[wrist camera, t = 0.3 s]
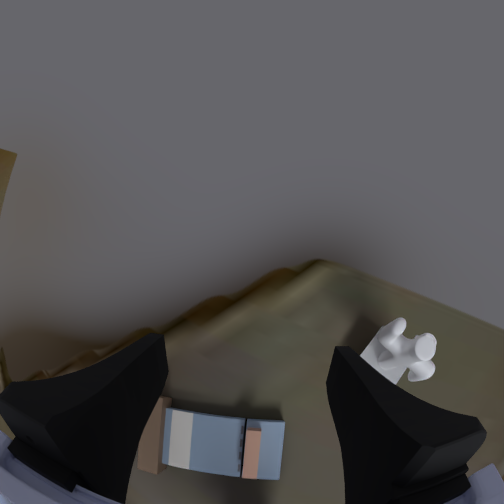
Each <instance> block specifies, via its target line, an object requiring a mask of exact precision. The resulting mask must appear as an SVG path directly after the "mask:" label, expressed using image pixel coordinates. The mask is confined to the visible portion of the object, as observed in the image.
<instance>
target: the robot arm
mask: <svg viewBox="0 0 504 504" xmlns="http://www.w3.org/2000/svg"><path fill="white" fill-rule="evenodd" d="M168 372H169V371H168V364H167V357H166V349H165V341H164V335H161V334H154V333H150V334H148V335H146V336H144V337H143V338H141V339H139V340H138V341H136V342H134V343H133V344H131V345H129V346H128V347H126V348H124V349H123V350H121V351H119V352H118V353H116V354H114V355H112V356H110V357H108V358H106V359H105V360H103V361H101V362H99V363H97V364H94V365H92V366H90V367H87V368H85V369H82V370H79V371H76V372H73V373H70V374H66V375H63V376H59V377H54V378H49V379H43V380H36V381H21V382H11V383H10V384H9V385H8V386H7V387H6V388H5V389H4V390H3V392H2V393H1V394H0V414H1V416H2V417H3V419H4V420H5V422H6V423H7V425H8V426H9V428H10V429H11V431H12V432H13V433H14V435H15V436H16V437H15V438H14V440H13V441H12V440H11V439H10V438H9V437H8V436H7V435H6V434H5V433H3V432H2V431H1V430H0V493H1V494H2V495H3V496H4V497H5V498H7V499H8V500H9V501H10V502H11V503H13V504H125V500H126V494H127V488H128V483H129V478H130V474H131V470H132V466H133V462H134V458H135V455H136V451H137V448H138V445H139V442H140V439H141V435H142V433H143V430H144V428H145V426H146V424H147V422H148V420H149V418H150V415H151V413H152V411H153V409H154V407H155V405H156V403H157V401H158V399H159V397H160V395H161V393H162V391H163V388H164V385H165V382H166V379H167V375H168ZM326 386H327V395H328V401H329V405H330V409H331V413H332V416H333V420H334V423H335V427H336V431H337V434H338V438H339V442H340V446H341V452H342V460H343V469H344V481H345V504H504V482H503V480H502V478H501V476H500V474H499V473H498V471H497V469H496V467H495V466H494V464H490V465H488V466H486V467H485V468H483V469H481V470H479V471H477V472H476V473H474V474H472V475H471V476H470V477H468V478H467V476H466V474H465V473H466V472H467V471H468V469H469V468H468V466H467V464H466V463H467V461H468V460H469V459H470V458H471V457H472V456H473V455H474V454H475V452H476V451H477V450H478V449H479V448H480V446H481V445H482V444H483V442H484V440H485V438H486V434H487V432H486V430H485V429H484V427H483V426H482V424H481V423H480V421H479V420H478V418H477V417H473V416H468V415H463V414H458V413H454V412H451V411H448V410H445V409H442V408H439V407H436V406H434V405H431V404H429V403H427V402H425V401H423V400H421V399H419V398H417V397H415V396H413V395H411V394H409V393H408V392H406V391H404V390H403V389H401V388H400V387H398V386H397V385H395V384H394V383H392V382H391V381H390V380H388V379H387V378H386V377H384V376H383V375H382V374H380V373H379V372H378V371H377V370H376V369H374V368H373V367H372V366H371V365H370V364H369V363H367V362H366V361H365V360H364V359H363V358H362V357H361V356H360V355H358V354H357V353H356V352H355V351H354V350H353V349H351V348H350V347H349V346H335V349H334V353H333V357H332V362H331V366H330V369H329V373H328V377H327V381H326Z"/></svg>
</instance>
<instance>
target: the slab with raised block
mask: <svg viewBox="0 0 504 504" xmlns="http://www.w3.org/2000/svg"><path fill="white" fill-rule="evenodd" d="M284 427H285V422H284V420H262V419H247V426H246V437H245V448H244V459H243V469H242V478H249V479H270V480H279V476H280V467H281V458H282V448H283V438H284Z"/></svg>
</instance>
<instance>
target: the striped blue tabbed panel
mask: <svg viewBox="0 0 504 504" xmlns="http://www.w3.org/2000/svg"><path fill="white" fill-rule="evenodd" d="M171 404H172V398H169V397H165V396H160V397H159V399H158V401H157V403H156V405H155V407H154V409H153V411H152V413H151V415H150V418H149V420H148V422H147V424H146V426H145V428H144V430H143V433H142V435H141V439H140V442H139V447H138V469H140V470H143V471H147V472H150V473H153V474H159V473H160V472H162V471H163V470H164V469H166V468H167V465H171V466H175V467H179V468H184V469H190V470H195V471H200V472H206V473H212V474H219V475H227V476H235V477H240V474H241V466H242V455H243V445H244V434H245V422H246V418H239V417H229V416H221V415H213V414H206V413H200V412H194V411H188V410H182V409H177V408H172V407H171Z"/></svg>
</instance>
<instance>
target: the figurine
mask: <svg viewBox="0 0 504 504" xmlns="http://www.w3.org/2000/svg"><path fill="white" fill-rule="evenodd" d="M405 327H406V321H405V319H404V318H397V319H395V320H394V321H392V322H390V323H389V324H387V325H386V326H384V327H383V326H382V327H381V328H380V330H379V331H378V332H377V334H376V335H375V336H374V338H373V339H372V340H371V342H370V343H369V344H368V346H367V347H366V348H365V350H364V351H363V352H362V354H361V355H360V356H361V357H362V358H363V359H364V360H365V361H366V362H367V363H369V364H370V365H371V366H372V367H373V368H374V369H376V370H377V371H378V372H379V373H380V374H382V375H383V376H384V377H386V378H387V379H388V380H390V381H391V382H392V383H394V384H396V383H397V382H398V380H399V379H400V377H401V376H402V374H403V373H404V372H405V370H406V369H407V367H408V368H409V369H410V372H409V374H408V380H409V381H411V382H413V381H421V380H425V379H428V378H429V377H431V376H432V375H433V373H434V371H435V365H434V363H433V362H432V361H431V360H430V359H431V358H432V357H433V356H434V354H435V350H436V344H437V342H436V339H435V337H434V336H433V335H432V334H430V333H424V334H422V335H420V336H419V335H416V336H415V338H414V339H408V338H406V337H404V336H403V335H402V333H403V331H404V330H405Z"/></svg>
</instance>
